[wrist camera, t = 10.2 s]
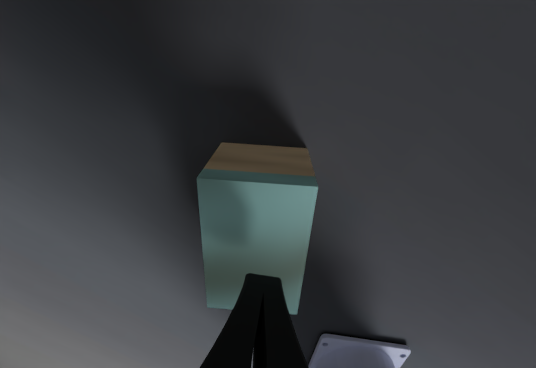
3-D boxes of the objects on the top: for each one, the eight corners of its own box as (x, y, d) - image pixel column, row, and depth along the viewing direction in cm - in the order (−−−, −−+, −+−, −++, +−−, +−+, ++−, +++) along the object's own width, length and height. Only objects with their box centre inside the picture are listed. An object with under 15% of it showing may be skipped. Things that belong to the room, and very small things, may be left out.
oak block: (207, 307, 14) (225, 246, 18) (297, 314, 14) (293, 251, 18) (196, 178, 10) (222, 141, 15) (318, 186, 10) (307, 147, 15)
